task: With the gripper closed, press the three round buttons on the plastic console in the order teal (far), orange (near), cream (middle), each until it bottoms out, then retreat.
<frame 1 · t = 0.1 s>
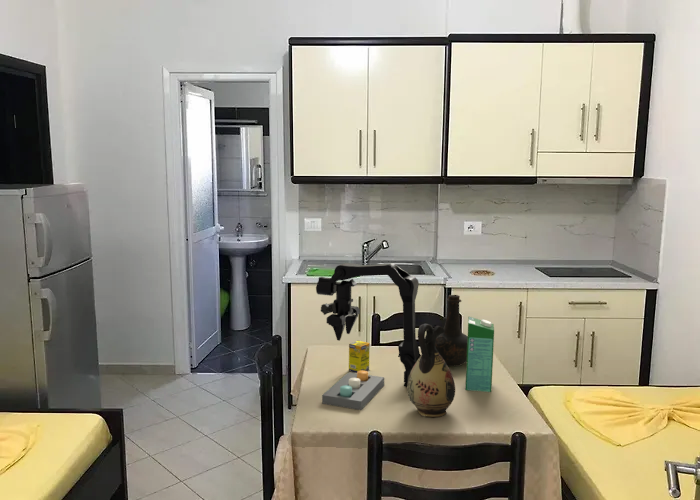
hand: (343, 337, 228), 15 cm above the table, fingers open, 9 cm apart
console: (354, 393, 211), on the table
ceramic jug: (428, 413, 196), on the table
orange button: (362, 376, 217), point 3 cm above the table, slide at 0.0 cm
teal button: (345, 392, 203), point 3 cm above the table, slide at 0.0 cm
cream button: (354, 384, 210), point 3 cm above the table, slide at 0.0 cm
glass bottle: (450, 363, 244), on the table
supplement box: (359, 370, 234), on the table
milk carton: (478, 387, 219), on the table
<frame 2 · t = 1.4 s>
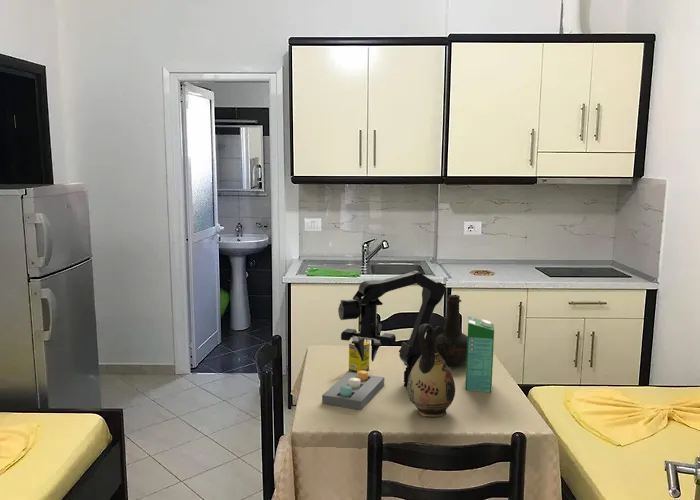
hand: (367, 360, 213), 11 cm above the table, fingers open, 3 cm apart
nothing on the table moved.
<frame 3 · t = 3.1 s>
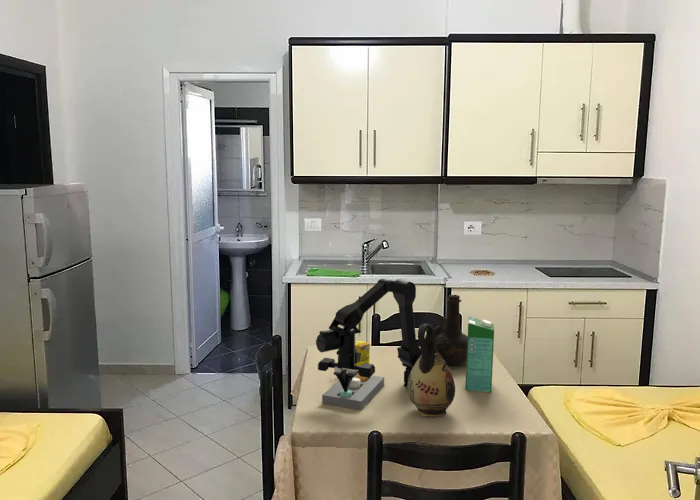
hand: (346, 391, 203), 4 cm above the table, fingers closed, pressing on teal button
teal button: (345, 396, 203), point 2 cm above the table, slide at 1.4 cm, touching gripper
everything else where it was.
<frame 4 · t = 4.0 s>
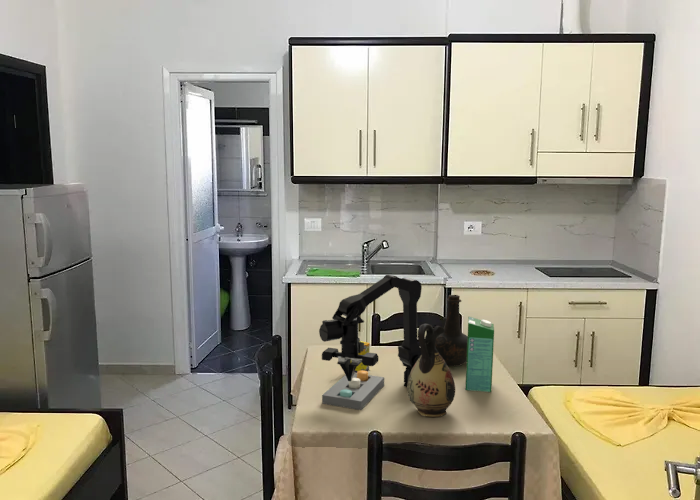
hand: (350, 380, 205), 7 cm above the table, fingers closed
teal button: (345, 396, 203), point 2 cm above the table, slide at 1.4 cm
everything else where it was.
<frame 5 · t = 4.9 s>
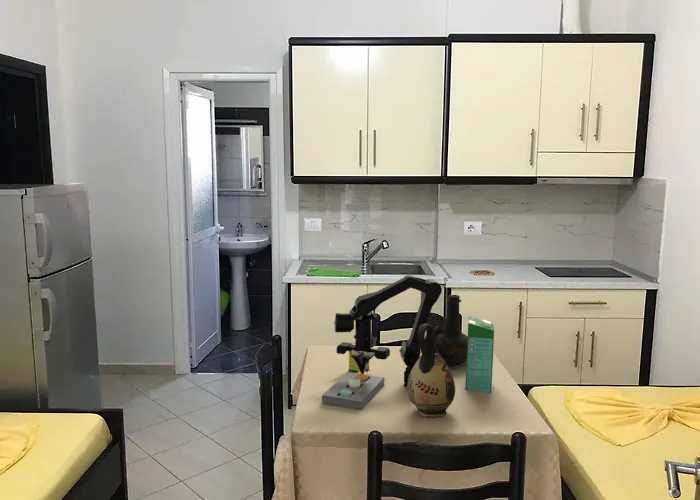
hand: (362, 373, 217), 5 cm above the table, fingers closed, pressing on orange button
orange button: (362, 377, 218), point 3 cm above the table, slide at 0.4 cm, touching gripper
everything else where it was.
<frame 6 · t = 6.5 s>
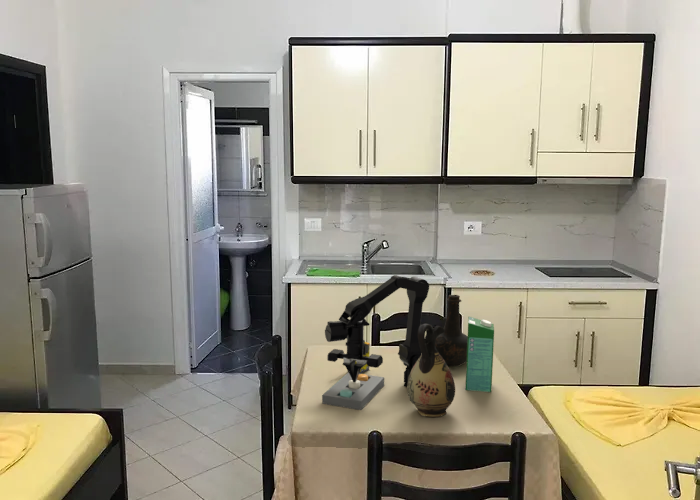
hand: (354, 381, 210), 4 cm above the table, fingers closed, pressing on cream button
orange button: (362, 380, 218), point 2 cm above the table, slide at 1.4 cm
cream button: (354, 386, 210), point 3 cm above the table, slide at 0.7 cm, touching gripper
everything else where it was.
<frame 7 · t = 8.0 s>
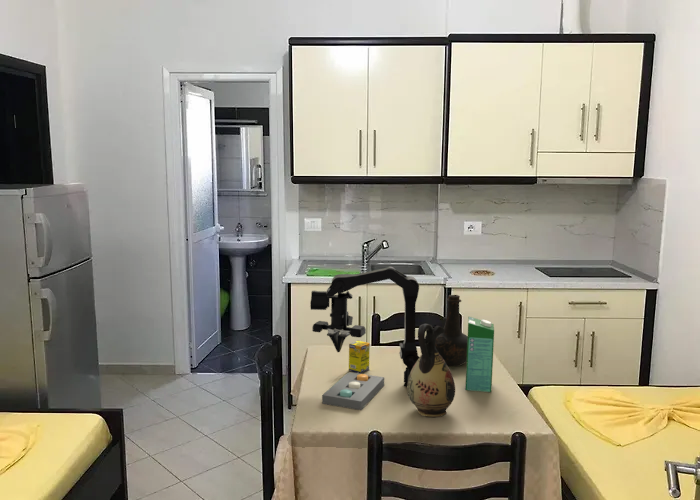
hand: (338, 351, 218), 12 cm above the table, fingers closed
cream button: (354, 388, 210), point 2 cm above the table, slide at 1.4 cm
everything else where it was.
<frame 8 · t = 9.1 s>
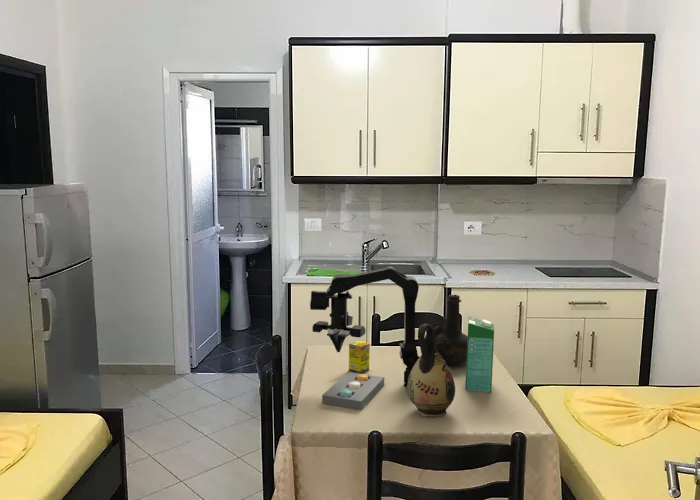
hand: (338, 351, 219), 12 cm above the table, fingers closed
nothing on the table moved.
at the end: teal button slide at 1.4 cm; orange button slide at 1.4 cm; cream button slide at 1.4 cm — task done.
